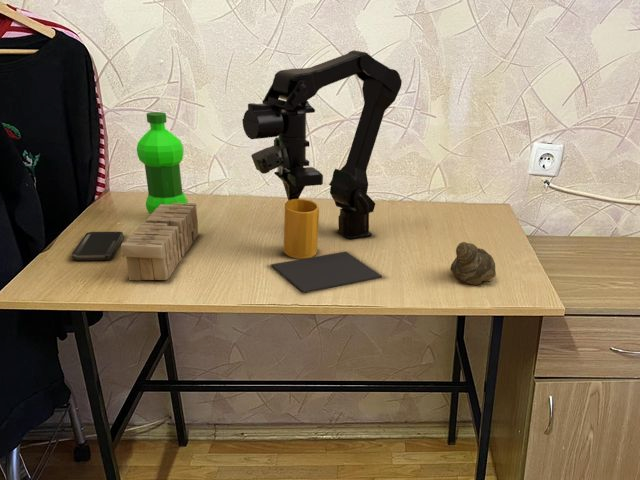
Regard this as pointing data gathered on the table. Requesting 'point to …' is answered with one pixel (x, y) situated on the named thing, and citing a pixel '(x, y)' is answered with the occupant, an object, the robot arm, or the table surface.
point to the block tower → (161, 241)
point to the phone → (98, 246)
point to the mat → (325, 271)
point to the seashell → (473, 264)
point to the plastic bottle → (161, 163)
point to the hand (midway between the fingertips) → (292, 206)
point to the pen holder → (301, 228)
